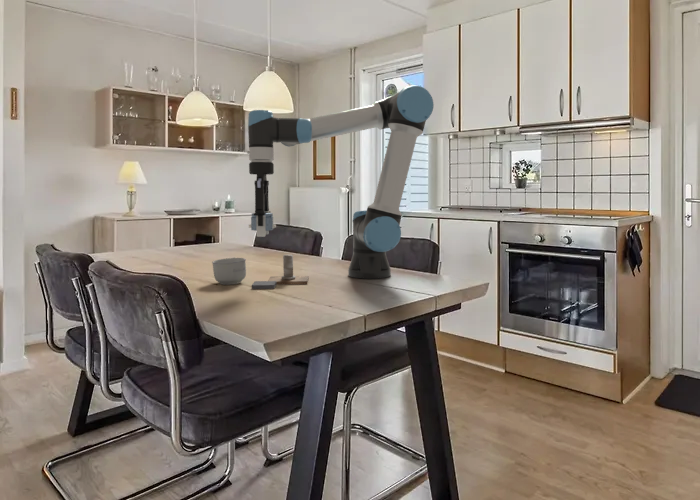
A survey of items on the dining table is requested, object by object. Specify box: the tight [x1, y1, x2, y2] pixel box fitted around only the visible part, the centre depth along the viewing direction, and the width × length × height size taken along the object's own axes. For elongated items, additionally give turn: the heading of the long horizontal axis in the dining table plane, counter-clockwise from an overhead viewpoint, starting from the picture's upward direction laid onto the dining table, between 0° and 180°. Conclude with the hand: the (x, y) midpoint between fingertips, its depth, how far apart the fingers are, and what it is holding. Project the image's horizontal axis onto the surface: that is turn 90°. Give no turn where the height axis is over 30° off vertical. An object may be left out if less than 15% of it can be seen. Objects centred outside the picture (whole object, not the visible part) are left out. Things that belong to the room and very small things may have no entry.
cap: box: [248, 210, 277, 232], centre depth 168 cm, size 8×7×6 cm
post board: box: [267, 254, 309, 286], centre depth 179 cm, size 13×10×9 cm
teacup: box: [211, 257, 247, 286], centre depth 179 cm, size 14×11×8 cm
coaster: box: [251, 280, 278, 290], centre depth 171 cm, size 7×7×1 cm
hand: (262, 235), depth 169 cm, fingers closed on cap, 7 cm apart
